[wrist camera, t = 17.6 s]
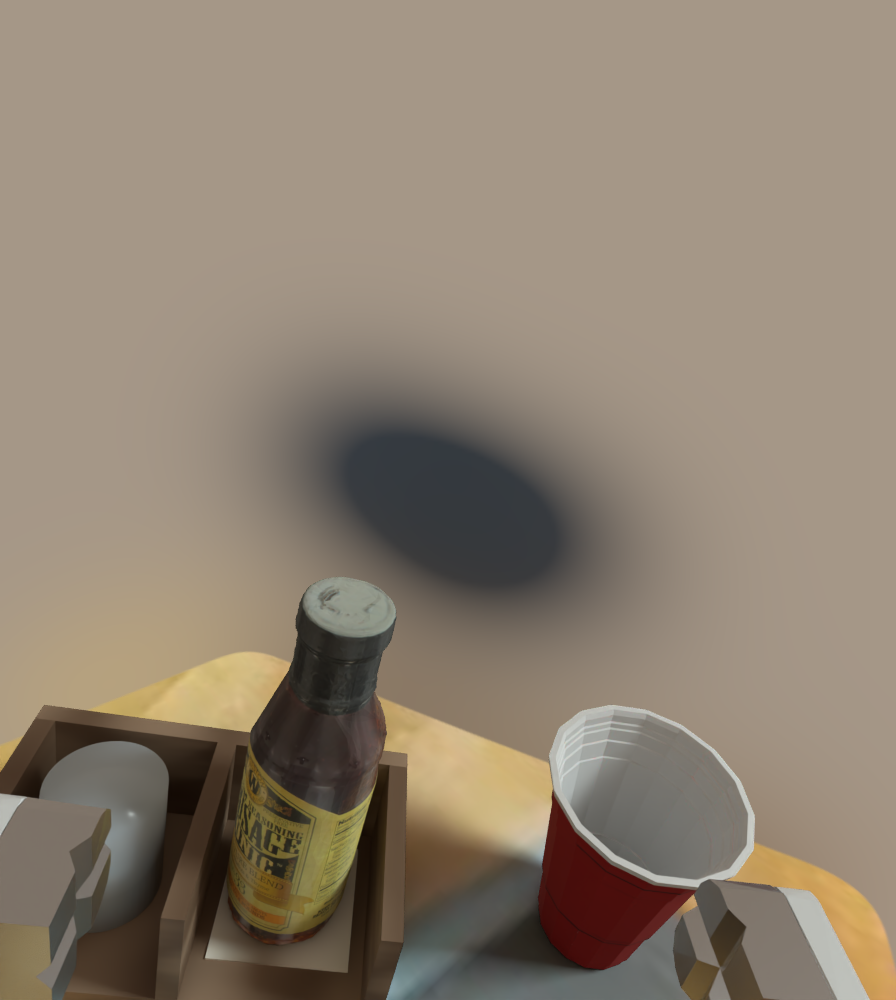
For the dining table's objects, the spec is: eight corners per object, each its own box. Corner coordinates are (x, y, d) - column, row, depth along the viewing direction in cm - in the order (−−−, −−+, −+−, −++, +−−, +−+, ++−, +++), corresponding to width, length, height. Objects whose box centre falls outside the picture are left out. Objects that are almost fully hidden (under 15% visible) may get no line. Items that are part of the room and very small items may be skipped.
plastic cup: (483, 988, 39) (546, 834, 34) (504, 823, 48) (555, 683, 43) (686, 1053, 38) (783, 906, 33) (666, 872, 48) (738, 736, 43)
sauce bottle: (204, 875, 40) (238, 567, 31) (308, 829, 44) (364, 543, 35) (257, 985, 36) (313, 664, 27) (366, 922, 39) (447, 624, 31)
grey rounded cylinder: (22, 926, 36) (16, 828, 33) (71, 827, 41) (69, 734, 38) (142, 938, 36) (147, 843, 33) (175, 839, 41) (182, 749, 38)
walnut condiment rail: (-63, 992, 33) (-78, 893, 30) (46, 795, 43) (43, 704, 40) (376, 1030, 36) (403, 942, 33) (385, 835, 46) (407, 753, 43)
